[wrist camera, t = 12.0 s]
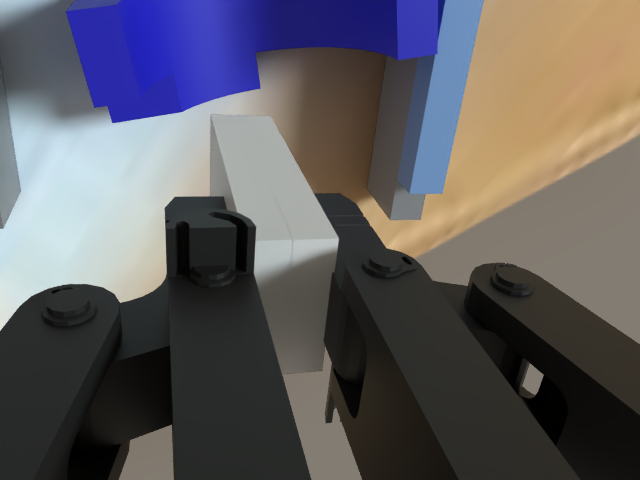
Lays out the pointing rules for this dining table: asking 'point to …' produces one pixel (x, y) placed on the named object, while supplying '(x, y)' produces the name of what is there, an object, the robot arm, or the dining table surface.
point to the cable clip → (225, 44)
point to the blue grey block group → (392, 122)
